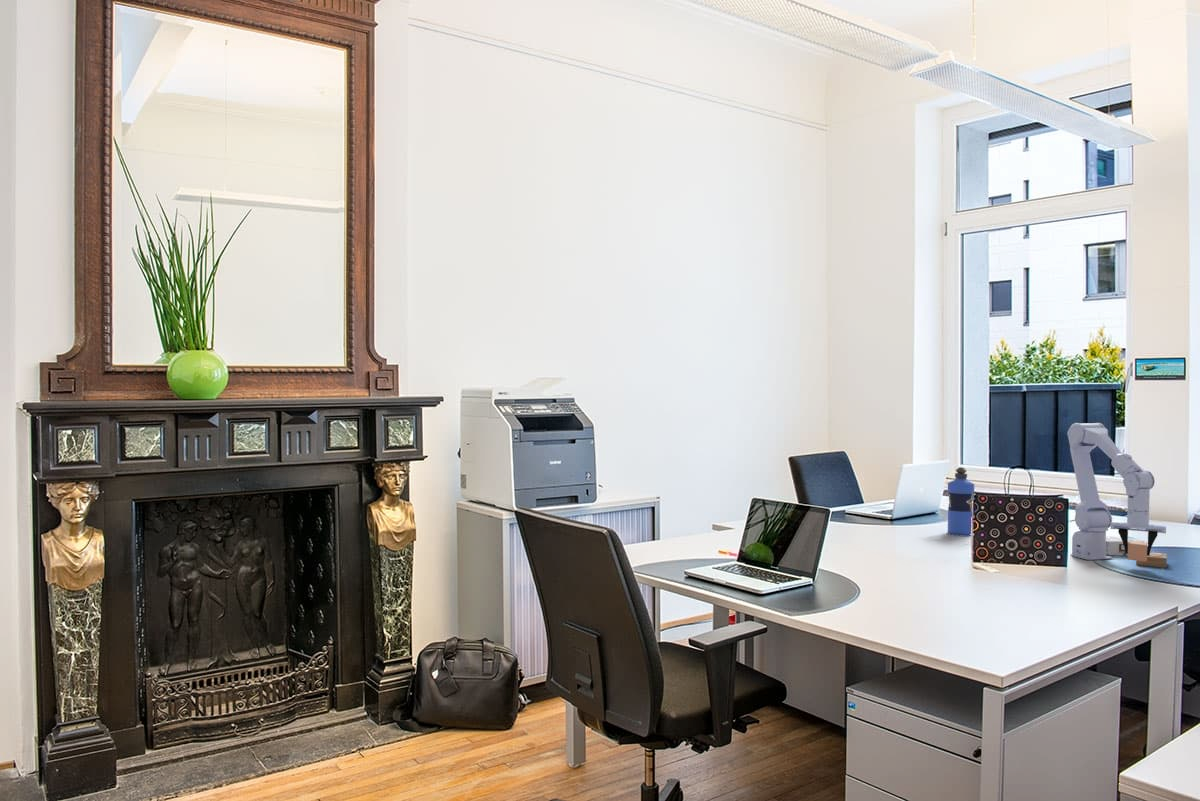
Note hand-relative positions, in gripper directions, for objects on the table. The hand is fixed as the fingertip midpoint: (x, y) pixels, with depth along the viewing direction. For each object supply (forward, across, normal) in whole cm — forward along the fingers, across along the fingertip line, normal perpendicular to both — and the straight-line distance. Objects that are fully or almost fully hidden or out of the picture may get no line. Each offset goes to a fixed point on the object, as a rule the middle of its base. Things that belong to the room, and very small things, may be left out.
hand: (1137, 554), depth 271 cm
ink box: (+2, 0, +28) cm, 28 cm away
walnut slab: (+4, +4, +10) cm, 12 cm away
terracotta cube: (+2, 0, 0) cm, 2 cm away
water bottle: (+5, -58, +37) cm, 69 cm away
